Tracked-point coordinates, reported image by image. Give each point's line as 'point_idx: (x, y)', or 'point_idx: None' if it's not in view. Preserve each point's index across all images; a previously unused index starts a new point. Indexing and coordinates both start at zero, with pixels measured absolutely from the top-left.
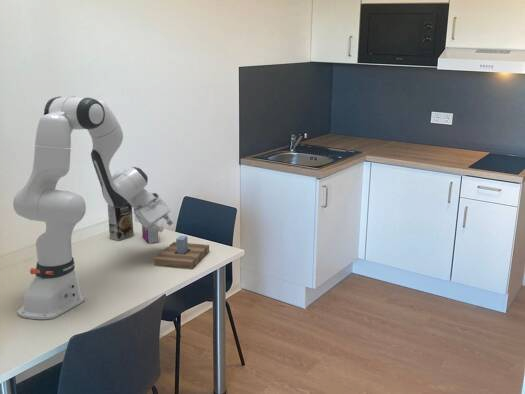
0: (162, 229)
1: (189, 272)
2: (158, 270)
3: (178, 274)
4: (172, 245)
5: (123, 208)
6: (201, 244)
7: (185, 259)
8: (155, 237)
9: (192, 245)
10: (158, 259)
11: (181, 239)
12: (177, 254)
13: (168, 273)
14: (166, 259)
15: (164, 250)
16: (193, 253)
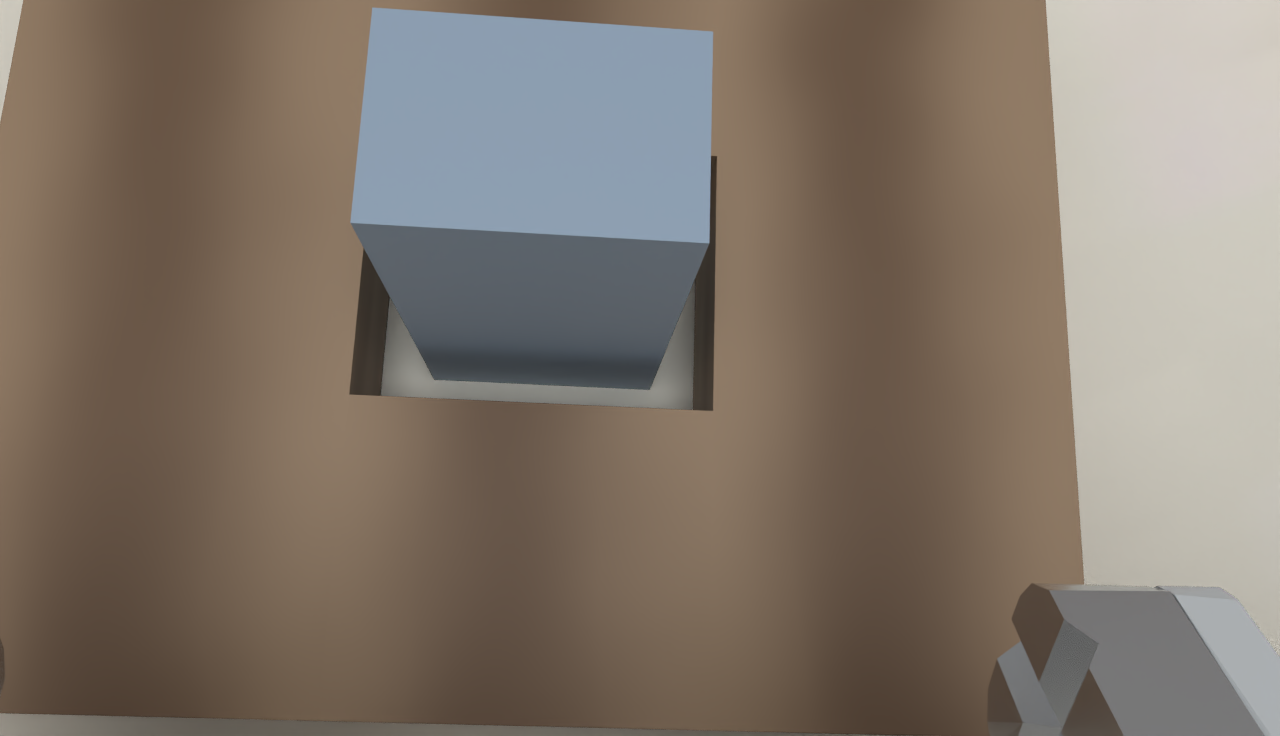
0: (1197, 593)
1: (1114, 17)
2: (1204, 545)
3: (1242, 154)
4: (181, 639)
5: None
6: (39, 5)
7: (958, 75)
8: None
9: (129, 172)
10: None
11: (700, 81)
12: (741, 312)
13: (1261, 323)
14: (1066, 439)
15: (559, 703)
16: (614, 19)
